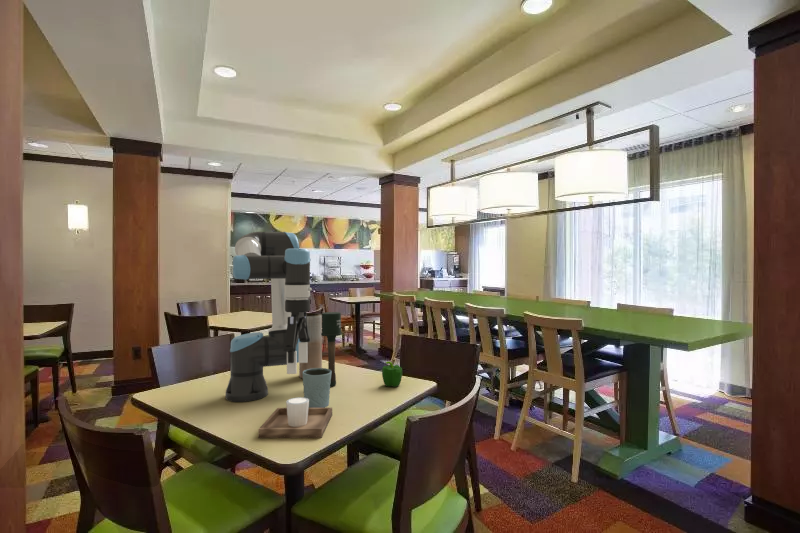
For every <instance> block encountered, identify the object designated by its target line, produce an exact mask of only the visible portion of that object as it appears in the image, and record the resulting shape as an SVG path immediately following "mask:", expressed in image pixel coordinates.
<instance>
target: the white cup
mask: <svg viewBox="0 0 800 533" xmlns="http://www.w3.org/2000/svg"><path fill="white" fill-rule="evenodd" d="M285 403H286V408H287V416H288V425H289V426H292V427H299V426H303V425H305V424H307V418H308V407H309V399H308V398H304V396H303V397H301V396H299V397H292V398H289V399H287V400H286V401H285Z"/></svg>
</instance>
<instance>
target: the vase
mask: <svg viewBox="0 0 800 533" xmlns="http://www.w3.org/2000/svg"><path fill="white" fill-rule="evenodd" d="M307 324H308V332H309V338H310V342H307V363H299V362H298V365H299V366H298V367H299V368H298V369H299V370H298V371H299V373H298V376H299V378H300V379H303V371H304V370H307V369H312V368H323V353H322V352H323V346H322V345H323V343H322V342H323V340H322V337H323V336H322V335H321V333H322V313H316V312H315V313H314V312H313V313H310V312H309V313H308V312H307Z"/></svg>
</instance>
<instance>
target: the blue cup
mask: <svg viewBox="0 0 800 533" xmlns="http://www.w3.org/2000/svg"><path fill="white" fill-rule="evenodd" d="M331 373H332V371H331V370H329V369H328V368H323V367H322V368H312V369H307V370H304V371H303V378H302V385H303V397H304V398H308V399H309V407H308V408H328V406H329V405H330V392H331V387H330V383H331Z"/></svg>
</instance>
